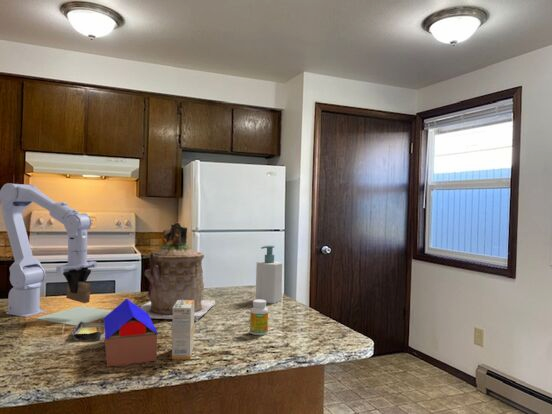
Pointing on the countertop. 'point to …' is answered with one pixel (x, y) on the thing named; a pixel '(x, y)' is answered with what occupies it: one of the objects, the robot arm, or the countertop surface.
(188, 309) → the supplement box
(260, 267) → the soap bottle
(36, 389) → the countertop surface
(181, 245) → the brown textured pot
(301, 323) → the countertop surface
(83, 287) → the walnut slab
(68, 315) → the mat
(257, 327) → the supplement bottle
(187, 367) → the countertop surface
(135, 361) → the house
